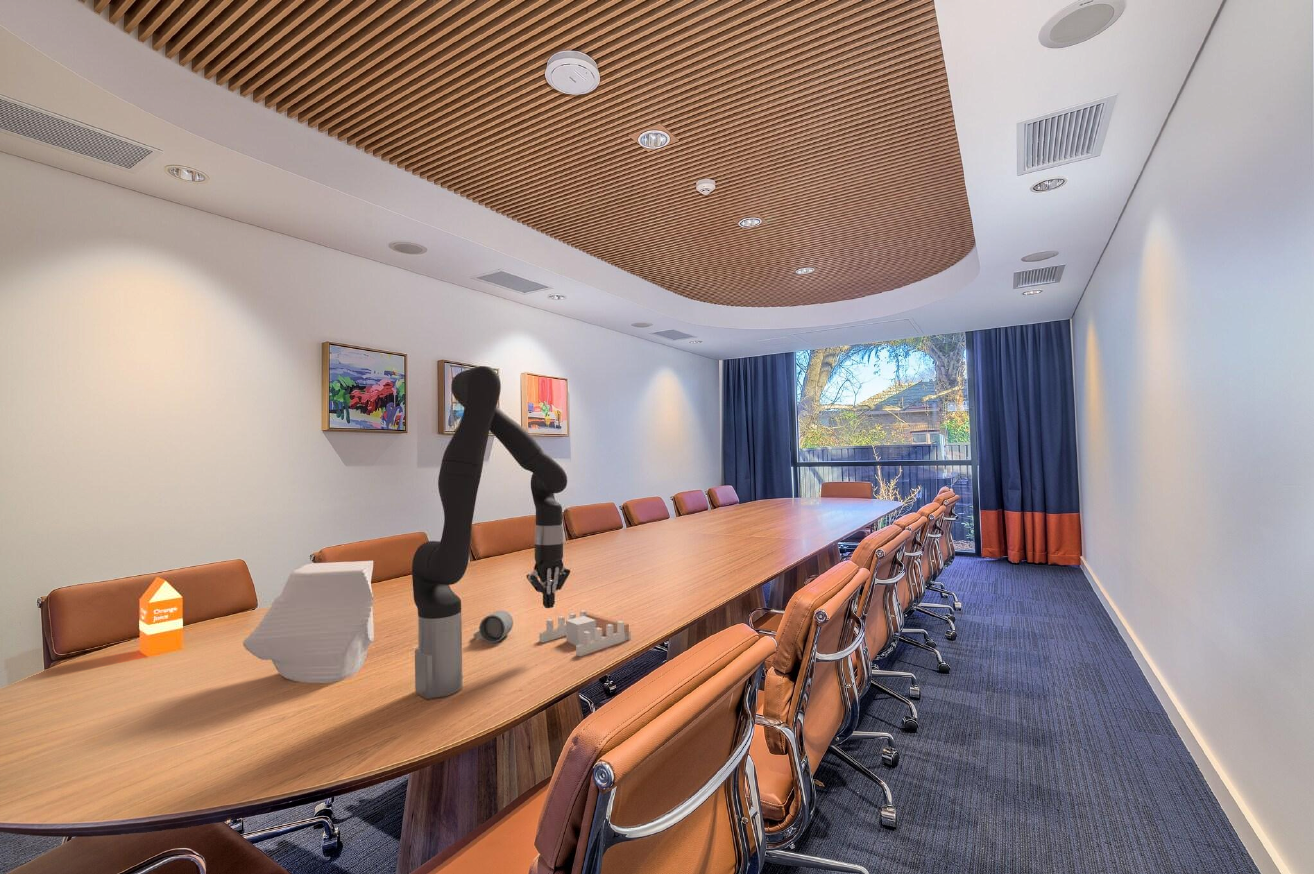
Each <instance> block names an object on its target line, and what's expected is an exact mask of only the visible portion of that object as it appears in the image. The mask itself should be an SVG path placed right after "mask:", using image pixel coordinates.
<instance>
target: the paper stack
mask: <svg viewBox="0 0 1314 874" xmlns="http://www.w3.org/2000/svg"><path fill="white" fill-rule="evenodd" d="M373 570H374V560H360V561H337V562H314V563H306V564H304V565H302V566H300V567H299V568H296V569H294V570H293V571H291V572H290V574H289V576H288V578H287V580H286V582H285V585H284V586H283V588H282V591H281V593H280V595H279V596H277V597H275V598H274V600H273V602H272V603H271V606H270V607H269V609H268V610H267V611H266V613H265V615H264V616H263V617H262V618H261V621H259V624H258V626H256V627H255V629H253V631H252V632H250V634H248V636H247V637H246V638H244V640H243V642H242V646H243V648H244V649H245V650H246V651H248V652H249V653H250V654H252V656H254V657H256V658H257V659H260V660H261V661H262V660H263V661H264V660H265V661H270V660H271V662H272V664H273V666H274V667H275V669H276V671H277V672H278V673H279V674H280V675H281V676H283V678H285V679H287V680H290V681H293V682H296V683H298V682H299V683H304V684H305V683H307V684H308V683H309V684H313V683H315V684H332V683H337V682H340V681H343V680H345V679H347V678H349V677H352V676H353V675H355V674H357V673H358V672H359V671H360V670H361V668H363V665H364V663H365V659H366V657H367V654H368V650H369V648H370V645H371V643H372V642H374V638H375V636H374V635H375V634H374V633H375V629H374V628H375V627H374V615H373V612H374V611H373V602H374V593H373V590H372V586H371V585H372V584H371V583H372V582H371V581H372V578H373V577H372V576H373Z"/></svg>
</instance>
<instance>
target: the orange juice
mask: <svg viewBox="0 0 1314 874" xmlns="http://www.w3.org/2000/svg"><path fill="white" fill-rule="evenodd" d="M183 620H184V619H183V596H182V595H181V594H180V593H179V592H178V591H177V590H176V589H175V588H174V587H173V586H172V585H171V584H170V583H169V582H168V581H167V580H166V579H163V578H162V577H159V576H156V578H155V579H154V581H152V583H151V584H150V585H149V587H148V588H147V589H146V591H145V592H144V593H143V594H142V596H141V597H140V598H139V621H138V623H139V626H138V627H139V651H140V653H142V654H143V655H145V656H146V657H148V658H150V657H154V656H155V657H156V656H159V655H163V654H167V653H173V652H177V651H181V650H184V649H183V646H184V645H183V644H184V643H183V641H184V640H183V637H184V636H183V633H184V632H183V630H184V629H183V627H184V626H183V625H184V621H183Z"/></svg>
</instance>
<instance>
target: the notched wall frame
mask: <svg viewBox="0 0 1314 874" xmlns="http://www.w3.org/2000/svg"><path fill="white" fill-rule="evenodd" d="M582 616H586V617H588V618H591V619H594V620H596V628H595V640H593V641H591V632H588V631H585V632H583V644H580V645H577V646H575V647H576V648H575V650H576V651H575V653H576V654H575V655H576V657H577V656H578V657H583V656H586V655H589V654H591V653H595V652H598V651H601V650H604V649H606V648H609V647H612V646H616V645H618V644H621V643H625V642H626V641H630V640H631V639H632V630H630V624H629V623H626V622H625V621H622V620H616V619H612V618H609V617H605V616H602V615H598V614H595V613H591V612H587V611H586V610H584V609H583V610H580V611H579V617H582ZM568 618H569V619H573V618H577V615H576V613H569V614H568ZM569 619H568V620H569ZM545 625H546V630H545V631H541V632H539V642H540V643H542V644H543V643H546V642H550V641H554V640H557V639H559V638H563V637H566V618H565V616H562V615H561V616H557V627H555V628H554V620H553V619H550V618H549V619H546V624H545ZM603 635H604V636H603Z"/></svg>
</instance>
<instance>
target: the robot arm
mask: <svg viewBox="0 0 1314 874" xmlns="http://www.w3.org/2000/svg"><path fill="white" fill-rule="evenodd" d="M499 376H500V375H499V374H498V373H497V371H496V370H495V369H493V367H490V366H485V365H483V366H481V365H480V366H475V367H473V368H469V369H465V370H463V371H461V372H459V373H457V374H456V375H455V376H454V377H453V379H452V381H451V387H450V388H451V393H452V395H453V397H454V398H455V400H456V401H457V402H458V404H460V405H461V406H462V407H463V413H462V417H461V420H460V422H459V424H458V426H457V428H456V429H455V432H454V434H453V436H452V437H451V439H450V441H449V442H448V444H447V446H446V448H445V451H444V453H443V455H442V458H441V459H442V460H441V464H440V469H439V472H438V479H437V487H438V493H439V497H440V502H441V504H442V505H441V506H442V510H443V517H444V519H443V520H444V521H443V528H442V533H441V539H440V541H438V540H429V541H425V542H423V543H422V544H420V545H419V546H418V547H417V548H416V550H415V553H414V554H413V558H412V564H411V578H412V593H413V594H412V595H413V601H414V604H415V606H416V609H417V629H418V630H417V632H418V633H417V634H418V635H417V641H418V644H417V645H418V648H416V649H414V688H415V690H414V691H415V692H414V693H416V694H418V695H419V696H421V697H422V698H424V699H426V700H429V699H430V700H431V699H434V698H443V697H447V696H451V695H454V694H456V693H457V692H459V691H461V690H462V688H463V679H464V678H463V645H462V644H463V642H462V641H463V635H462V634H463V633H462V629H463V628H462V625H463V623H462V600H461V598H460V597H459V596H458V595H457V594H456V593H455V592H454V591H453V590H452V588H451V586H450V585H455V584H457V583H458V582H460V581H461V580H462V579H463V576H464V575H465V573H466V571H467V568H468V565H469V559H470V550H471V539H472V538H471V537H472V529H473V528H472V527H473V520H474V514H475V508H476V507H475V506H476V502H477V496H478V491H479V486H480V481H481V478H482V472H483V467H484V458H485V454H486V450H487V444H488V440H489V435H490V433H492V434H493V436H494V437H495V438H497V440H498V441H499V442H500V444H502V445H503V447H504V448H505V449H506V450H507V451H508V453H509V454H510V455H511V456H512V457H513V459H514V460H515V461H516V463H517V464H518V465H519V466H520V467H521V468H522V469H524V470H525V471H529V472H531V473H532V474H531V477H530V491H531V496H532V501H533V504H534V506H535V528H534V529H535V530H534V561H535V564H534V566H533V571H532V572H531V573H530V574H529V573H528V574H526V579H527V580H528V582H529V583H530V584H531V586H532V587H533V588H534V590H535V591H536V592H538V593H541V594H542V606H543V607H544V608H545V609H552V608H554V606H555V602H556V601H555V600H556V597H555V596H556V592H557V591H560V590H562V588H563V586H564V584H565V583H566V581H567V579H568V578H569V575H570V574H571V570H570V569H568V568H566V567H565V566H564V561H563V559H564V528H563V507H562V505H561V503H559V502H557V500H556V498H555V494H559V493H562V492H564V490H565V489H566V488H567V485H568V476H567V473H566V472H565V470H564V468H563V467H562V466H561V465H560V464H559V463H558V462H557V461H555V460H554V459H553V458H552V457H551V456H550V455H548V454H547V453H546V452H545V451H544V450H543V449H542V448H541V446H540V444H538V442H537V441H536V440H535V439H534V437H533V436H532V435H531V434H530V433H529V432H528V431H527V429H526V428H525V427H523V426H522V425H520V424H519V423H518V422H517V421H515V420H514V419H512V418H511V417H510V416H509V415H507V414H506V413H504V412H503V411H502V409H500V408H499V407H498V406H497V405H498V401H499V399H500V396H501V388H502V386H501V385H502V384H501V378H500V377H499Z"/></svg>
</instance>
